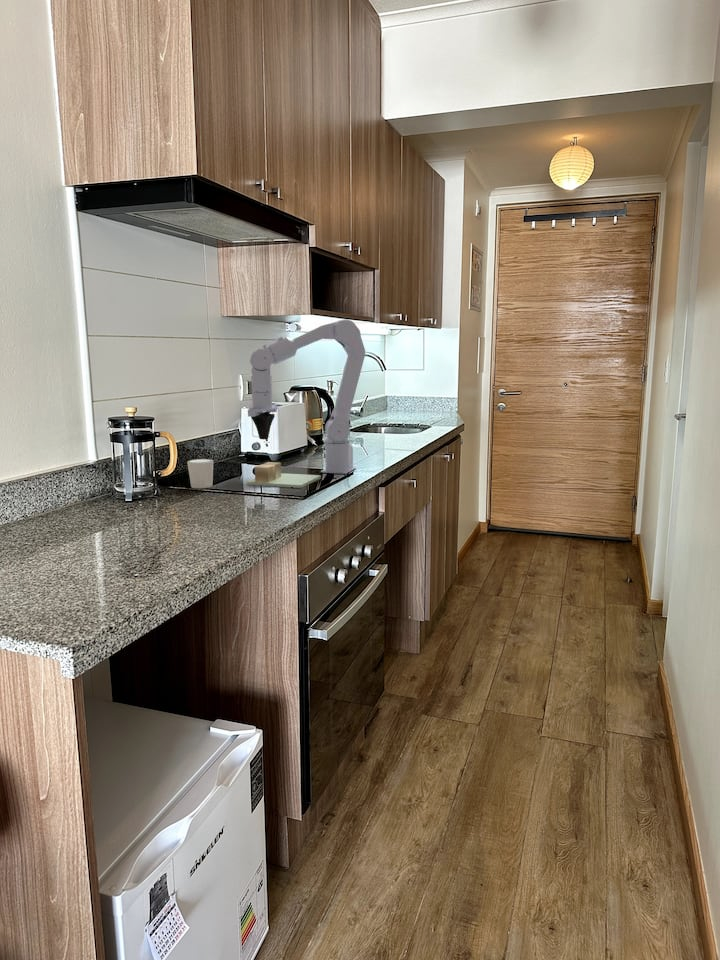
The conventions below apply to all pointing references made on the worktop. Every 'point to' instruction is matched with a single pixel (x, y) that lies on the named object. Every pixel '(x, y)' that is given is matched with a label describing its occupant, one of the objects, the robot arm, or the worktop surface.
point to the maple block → (267, 472)
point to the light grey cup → (201, 473)
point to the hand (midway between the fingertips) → (263, 439)
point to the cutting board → (288, 480)
